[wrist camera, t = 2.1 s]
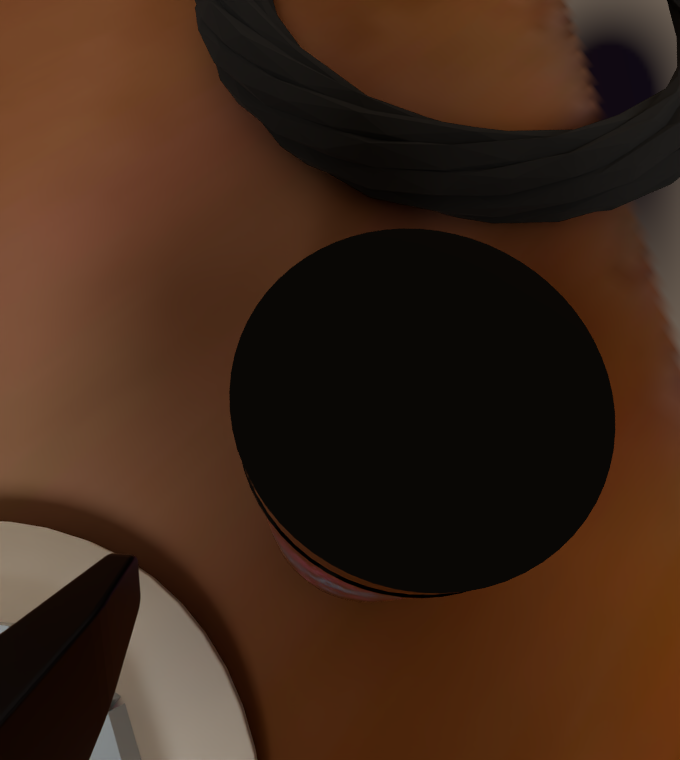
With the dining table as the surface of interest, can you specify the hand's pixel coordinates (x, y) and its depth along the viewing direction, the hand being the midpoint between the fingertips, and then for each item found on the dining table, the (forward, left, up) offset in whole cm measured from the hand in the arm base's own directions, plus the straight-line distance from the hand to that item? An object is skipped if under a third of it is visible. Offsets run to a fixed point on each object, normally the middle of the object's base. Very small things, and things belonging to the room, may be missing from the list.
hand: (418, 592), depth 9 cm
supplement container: (+3, -2, -10) cm, 11 cm away
